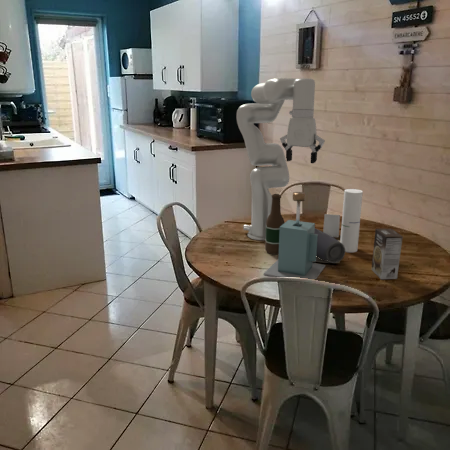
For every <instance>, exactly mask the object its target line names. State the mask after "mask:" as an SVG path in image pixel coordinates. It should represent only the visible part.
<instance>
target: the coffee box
mask: <svg viewBox="0 0 450 450" xmlns="http://www.w3.org/2000/svg"><path fill="white" fill-rule="evenodd" d="M402 245H403V235H401V234H400V233H398V231H395V229H393V228H375V230H374V240H373V251H372V259H371V260H372V261H371V271H372V272H373V273H374V274H376V276H377V277H378V278H379V279H380V280H397V279H398V274H399V268H400V267H399V266H400V259H401V254H402V253H401V251H402Z"/></svg>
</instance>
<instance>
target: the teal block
mask: <svg viewBox="0 0 450 450" xmlns="http://www.w3.org/2000/svg"><path fill="white" fill-rule="evenodd" d="M284 222H285V223H284V224H283V225H282V226H280V232H279V254H278V257H277V258H278V259H276V261H275V262H273V264H272V265H271V266H270V267H269V268H267V269H266V271H265V272H263V275H264V276H267V277H272V278H277V277H300V278H308V279H316V280H317V279H318V277H319V276H320V274H321V273H322V272H323V270H324V269H325V268H326V264H322V263H316V262H317V257H316V255H317V240H318V234H314V231H315V227H316V223H314V222H307V221H302V220H300V221H299V227H298V226H296V220H293V219H292V220H291V219H287V220H286V221H284Z"/></svg>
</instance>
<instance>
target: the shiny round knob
mask: <svg viewBox="0 0 450 450" xmlns="http://www.w3.org/2000/svg"><path fill="white" fill-rule="evenodd" d="M292 201H294V202H296V215H295V216H296V217H295V221H296V226H298V227H299V221H301V220H300V218H301V217H300V216H301V202H304V201H306V192H304V191H294V192H292Z"/></svg>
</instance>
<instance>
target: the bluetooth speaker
mask: <svg viewBox="0 0 450 450" xmlns="http://www.w3.org/2000/svg"><path fill="white" fill-rule="evenodd" d="M314 234H318V240H317V255H316V256H317V257H316V258H318V257H319V258H320V259H319V258H318V259H319V260H321V259H322V260H321V261H324V260H325V261H326V262H329V263H332V264H336V263H338V262H339V263H340V262H341V261H342V260H343V259H344V257H345V255H346V252H345V247H344V245H343V244H342V243H340V241H339V240H338V239H336V237H331V236H330V235H328V234H326V233H324V232H323V231H322V230H320V229H318V228H315V231H314Z"/></svg>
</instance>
